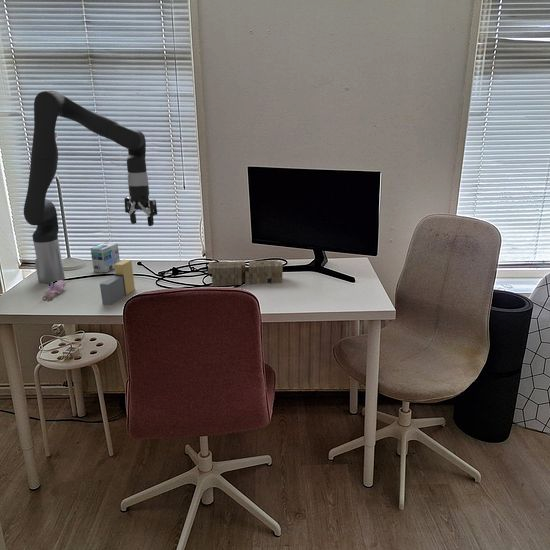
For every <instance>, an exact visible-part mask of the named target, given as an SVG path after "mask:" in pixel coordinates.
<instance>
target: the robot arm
mask: <svg viewBox="0 0 550 550" xmlns="http://www.w3.org/2000/svg"><path fill="white" fill-rule="evenodd" d="M33 116H34V117H33V120H34V121H33V126H34V127H33V137H32V143H31V144H32V146H31V151H30V153H31V154H30V163H29V164H30V166H29V167H30V168H29V175H28V177H29V178H28V185H27V191H26V197H25V200H24V204H23V217H24V219H25V221H26V222H27V223H28V224H29V225H31V226H37V227H36V229H35V231H34V232H33V234H32V242H33V247H34V252H35V257H36V259H34V265H35V270H36V275H37V280H38V283H44V284H51V282H55V281H59V280H63V281H64V280H65V278H66V277H65V272H64V265H63V260H62V254H61V249H60V248H61V247H60V241H59V235H58V234H59V219H58V214H57V212H58V211H57V210H56V206H55V205H54V203H53V202H52V201H50V200H49V199H46V195H47V192H48V189H49V188H50V185H51V184H52V182H53V180H54V178H55V176H56V173H57V171H58V170H57V169H58V162H59V151H58V150H59V149H58V145H57V141H56V124H57V120H58V118H59V117H61V118H65V119H67V120H71V121H74V122H76V123H77V124H80V125H81V126H83V127H84V128H86V129H88V130H89V131H90V132H92V133H93V134H97V135H98V136H100V137H102V138H105V139H107V140H110V141H112V142H114V143H115V144H118V145H119V146H121V147H123V148H125V149H127V150H128V151H127V152H128V153H127V154H128V155H127V158H126V168H127V185H128V195H129V196H128V197H124V212H125V213H128V215H129V217H130V218H129V219H130V224H132V225H135V224H137V215H136V212H137V211H143V213H145V214H146V216H147V225H148V226H147V227H153V225H154V223H155V222H154V216H157V215H158V209H157V208H158V207H157V201H156V199H149V196H150V188H149V177H148V171H147V163H146V162H147V161H146V151H147V149H146V148H147V147H146V146H147V143H146V137H145V134H144V133H143V132H142V131H141V130H139V129H130V128H128V127H125V126H122V125H121V124H120V123H119V122H118V121H116V120H114V119H111V118H109V117H106V116H104V115H101V114H99V113H98V112H95V111H92V110H90V109H88V108H86V107H84V106H81V105H80V104H78V103H76V102H75V101H73V100H72V99H70V98H68V97H67V96H65V95H64V94H62V93H60V92H59V91H56V90H44V91H40V92H38V94H36V96H35V97H34V102H33ZM55 283H56V282H55Z"/></svg>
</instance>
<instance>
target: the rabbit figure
mask: <svg viewBox="0 0 550 550" xmlns="http://www.w3.org/2000/svg"><path fill="white" fill-rule="evenodd" d="M67 283H68V280H65V279H63V280H59V281H57V282H55V283H53V282H51V283H50V285H49V290H48V291H43V293H44V294H43V296H42V297H41V298H42V299H41V300H42V301H45V300H48V301H51V300H53V299H54V298H55V296H56V294H58V295H59V294H61V293H62V292H63V291H64V286H65V285H66V284H67Z"/></svg>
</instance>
